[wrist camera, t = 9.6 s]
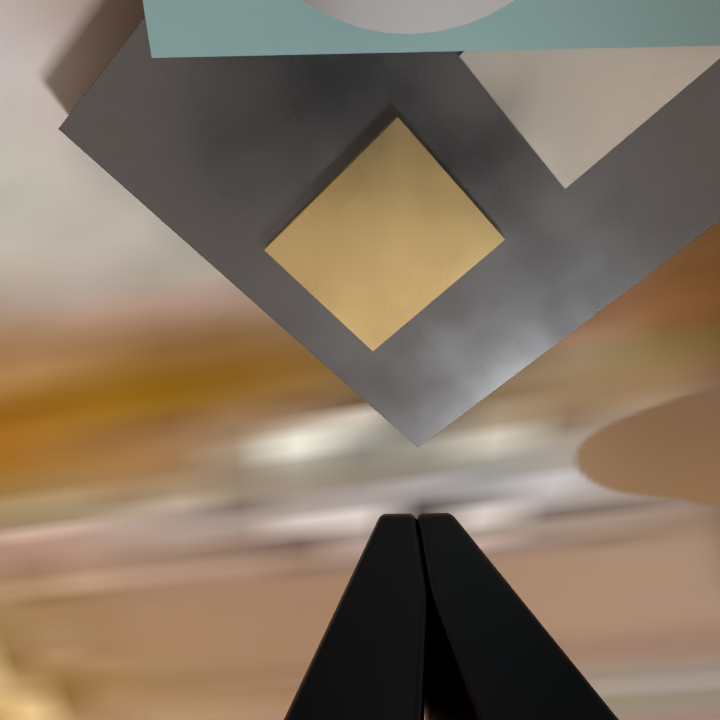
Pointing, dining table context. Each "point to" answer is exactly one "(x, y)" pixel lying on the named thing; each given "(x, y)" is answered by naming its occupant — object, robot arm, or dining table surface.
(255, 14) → the teal plank with post
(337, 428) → the dining table surface
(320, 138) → the panel
